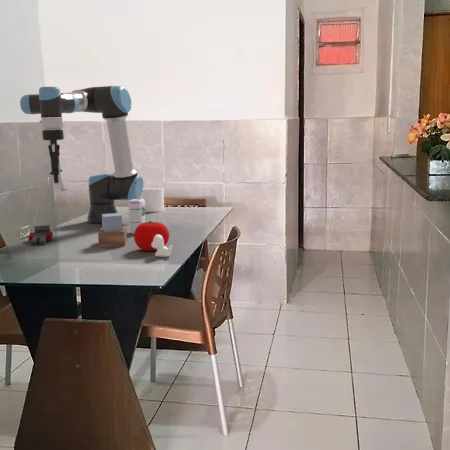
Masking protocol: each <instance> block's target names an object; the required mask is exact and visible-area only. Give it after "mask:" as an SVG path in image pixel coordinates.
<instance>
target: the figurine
mask: <svg viewBox="0 0 450 450" xmlns="http://www.w3.org/2000/svg"><path fill="white" fill-rule="evenodd" d="M151 244H152V247H153V248H157V250H156V252H155V254H154V255H155V257H158V258H167V257H169V256H170V255H171V252H172V250H173V245H169V246H168V247H167V246H166V245H165V246H164V240H163V237H162V236H161V235H158V234H157V235H155V236H154V240H153V242H152V243H151Z"/></svg>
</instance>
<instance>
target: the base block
mask: <svg viewBox="0 0 450 450" xmlns="http://www.w3.org/2000/svg"><path fill="white" fill-rule="evenodd" d="M122 227H123V231H112V232H104V230H103V227H101V228H100V229H99V231H98V232H97V238H98V248H110V247H111V248H112V247H126V244H127V241H128V240H127V239H128V238H127V235H128V234H127V226H122Z"/></svg>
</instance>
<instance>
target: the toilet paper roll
mask: <svg viewBox="0 0 450 450" xmlns="http://www.w3.org/2000/svg"><path fill="white" fill-rule="evenodd" d="M164 198H165V197H164V188H163V187H155V186H154V187H145V188H144V187H143V191H142V194H141V199H145V210H146V213H158V212H164V211H165V204H164V203H165V199H164Z"/></svg>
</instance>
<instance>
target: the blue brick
mask: <svg viewBox="0 0 450 450" xmlns="http://www.w3.org/2000/svg"><path fill="white" fill-rule="evenodd" d="M101 224H102V225H101V226H102V227H101V228H103V230H104V232H112V231H123V227H124V226H123V215H122V214H121V213H119V212H117V213H112V214H102V223H101Z"/></svg>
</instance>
